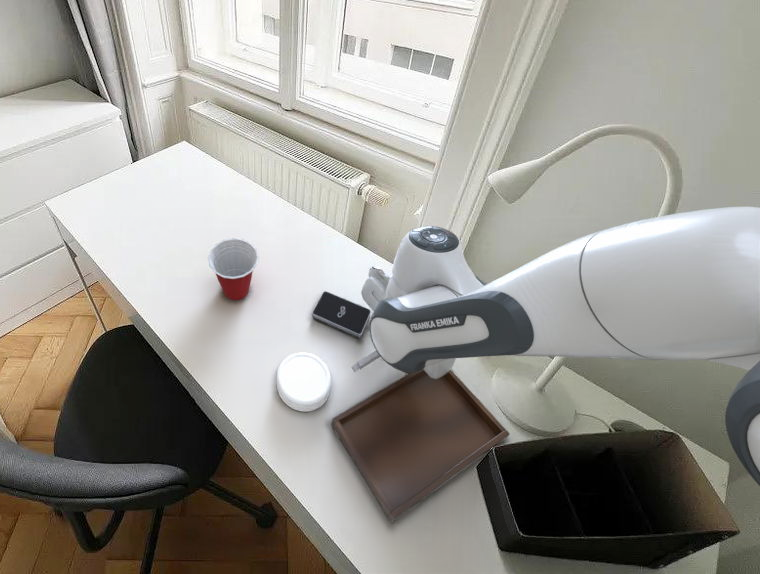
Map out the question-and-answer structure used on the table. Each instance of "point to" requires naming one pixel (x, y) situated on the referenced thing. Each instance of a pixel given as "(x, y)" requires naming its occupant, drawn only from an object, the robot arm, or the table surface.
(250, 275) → the plastic cup
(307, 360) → the white round container
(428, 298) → the robot arm
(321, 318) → the external hard drive
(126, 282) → the table surface
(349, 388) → the table surface
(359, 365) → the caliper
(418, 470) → the tray
